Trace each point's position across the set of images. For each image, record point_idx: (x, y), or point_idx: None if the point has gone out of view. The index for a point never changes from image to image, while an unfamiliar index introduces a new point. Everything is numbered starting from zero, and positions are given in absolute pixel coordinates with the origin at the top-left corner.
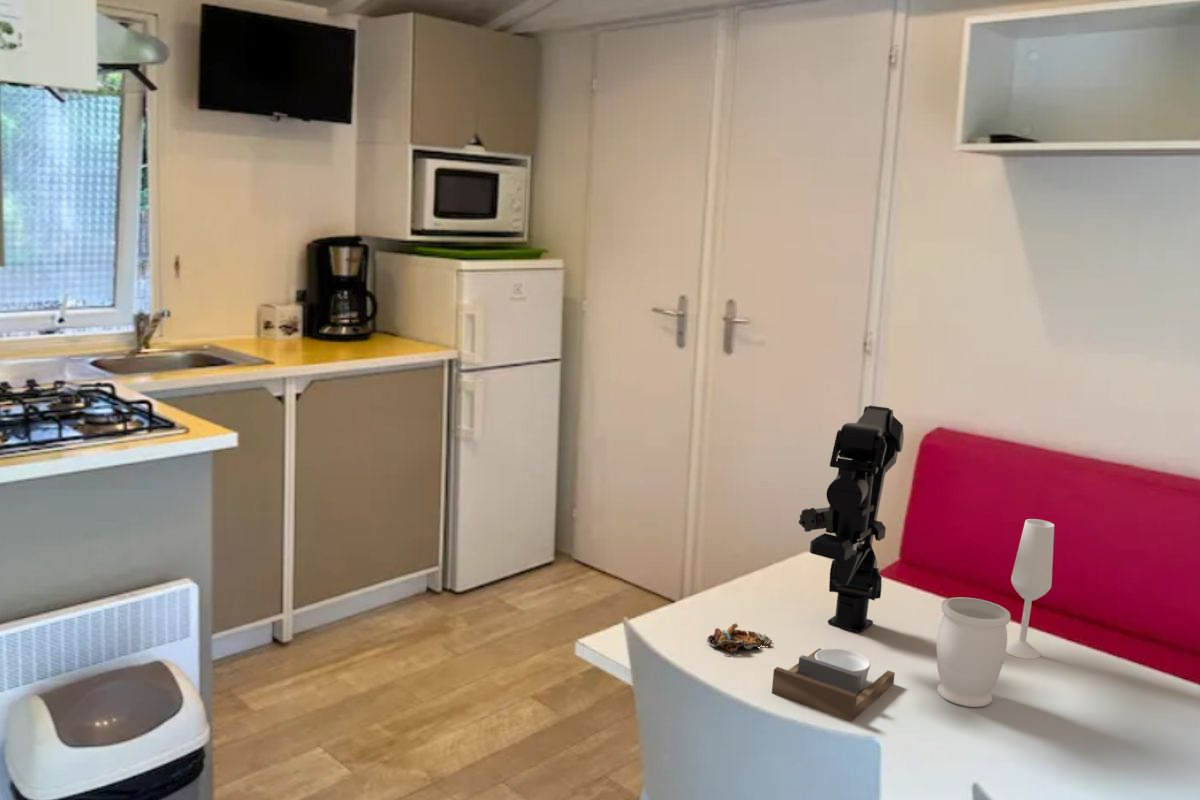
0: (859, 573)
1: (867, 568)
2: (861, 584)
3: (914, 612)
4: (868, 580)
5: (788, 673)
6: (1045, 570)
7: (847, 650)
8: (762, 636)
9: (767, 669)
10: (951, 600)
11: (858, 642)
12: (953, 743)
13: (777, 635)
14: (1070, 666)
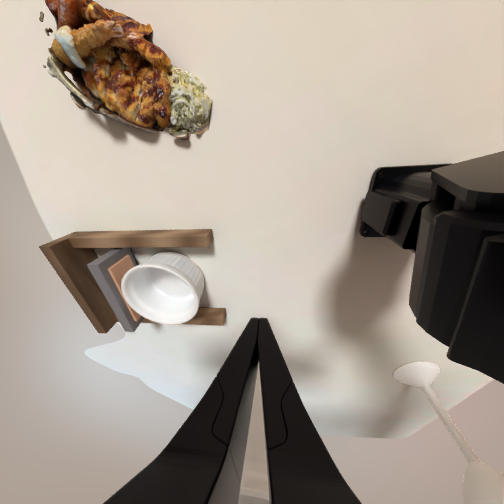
0: (444, 312)
1: (459, 354)
2: (413, 293)
3: None
4: (420, 322)
5: (54, 266)
6: None
7: (192, 292)
8: (182, 110)
9: (115, 190)
10: (264, 488)
11: (319, 246)
12: (170, 364)
13: (241, 118)
14: (395, 398)
